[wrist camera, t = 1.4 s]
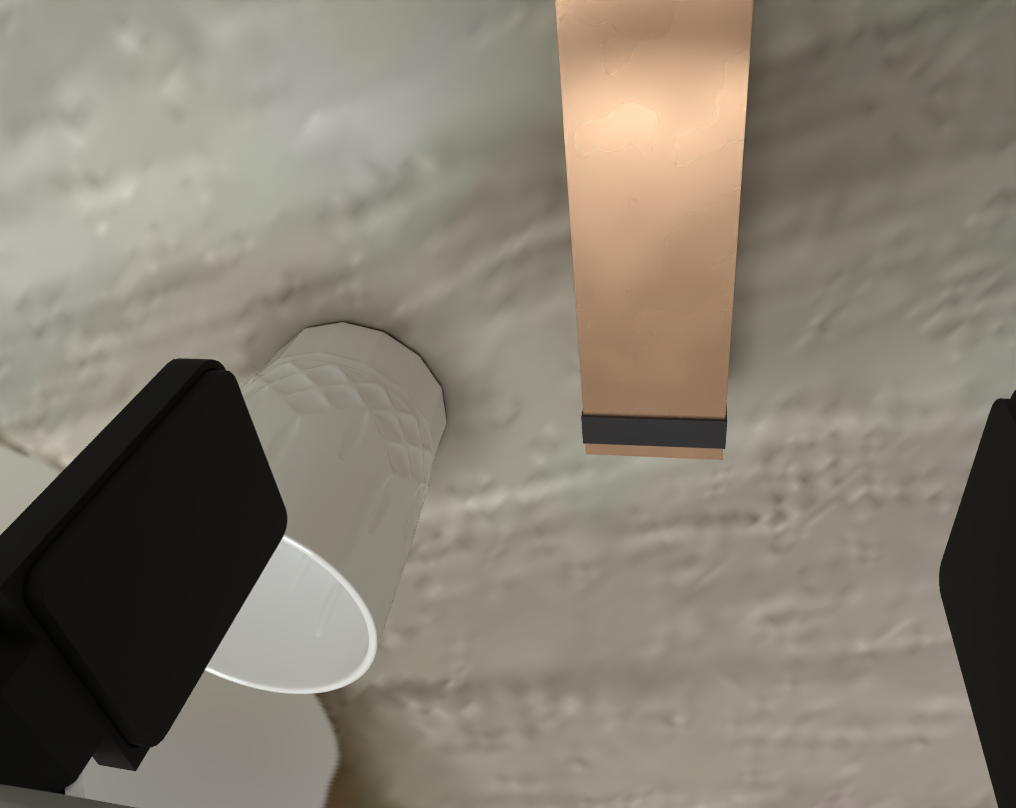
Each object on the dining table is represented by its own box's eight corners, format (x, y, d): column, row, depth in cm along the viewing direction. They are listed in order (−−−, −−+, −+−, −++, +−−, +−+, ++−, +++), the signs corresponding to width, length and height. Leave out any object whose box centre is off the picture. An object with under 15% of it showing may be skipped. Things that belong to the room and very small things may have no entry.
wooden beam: (560, -332, 16) (526, -363, 13) (768, -369, 15) (785, -412, 12) (597, 378, 27) (584, 456, 24) (721, 380, 26) (724, 461, 23)
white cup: (349, 264, 26) (199, 463, 18) (506, 420, 29) (434, 650, 21) (222, 375, 30) (56, 575, 22) (370, 501, 33) (268, 719, 25)
